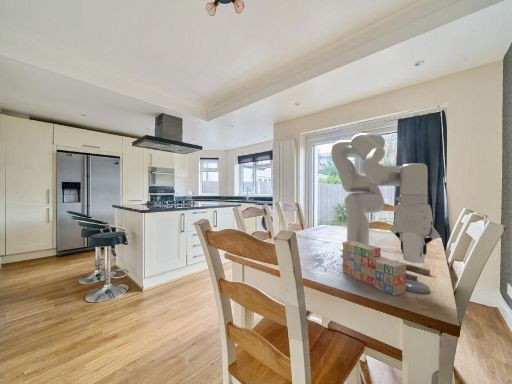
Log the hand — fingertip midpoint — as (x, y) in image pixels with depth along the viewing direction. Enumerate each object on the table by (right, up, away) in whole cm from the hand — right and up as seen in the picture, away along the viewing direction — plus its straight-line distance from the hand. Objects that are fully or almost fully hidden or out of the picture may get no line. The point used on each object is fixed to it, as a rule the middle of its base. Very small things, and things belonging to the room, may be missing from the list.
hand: (413, 253), depth 72 cm
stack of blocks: (-12, -12, +5) cm, 17 cm away
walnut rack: (+6, -11, +13) cm, 18 cm away
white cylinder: (0, -3, 0) cm, 3 cm away
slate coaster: (0, -11, 0) cm, 11 cm away
